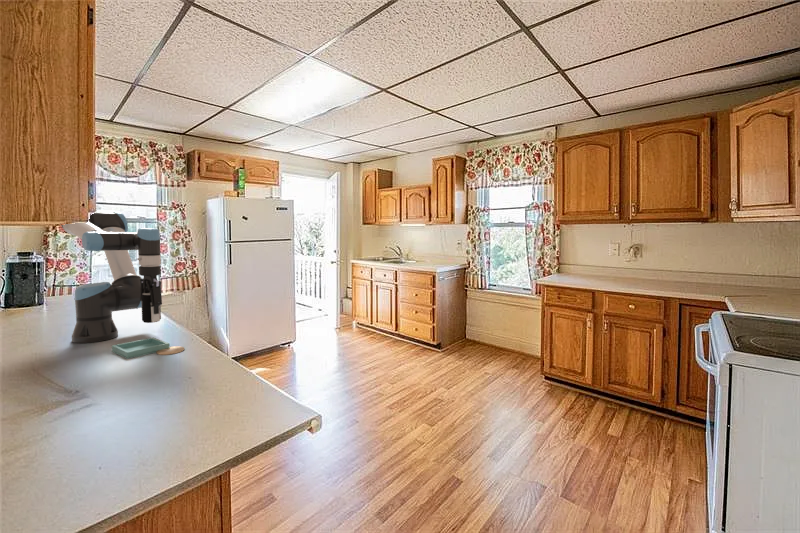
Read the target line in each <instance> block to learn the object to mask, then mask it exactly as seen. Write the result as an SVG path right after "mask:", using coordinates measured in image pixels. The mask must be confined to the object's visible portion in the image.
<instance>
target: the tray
mask: <svg viewBox="0 0 800 533" xmlns="http://www.w3.org/2000/svg"><path fill="white" fill-rule="evenodd" d="M170 347H171V346H170V343H169V342H167V341H165V340H162V339H158V338H155V337H148V338H143V339H139V340H133V341H129V342H123V343H118V344H113V345H111V352H112V353H114V354H116V355H118V356H121V357H122V358H125V359H131V358H137V357H141V356H145V355H149V354H150V355H151V354H153V353H156V351H158V350H162V349H167V348H170Z"/></svg>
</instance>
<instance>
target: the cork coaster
mask: <svg viewBox="0 0 800 533" xmlns="http://www.w3.org/2000/svg"><path fill="white" fill-rule="evenodd" d="M183 350H184V351H185V347H184V346H179V345H178V346H170V348H167V349H162V350H158V351H156V352H155V353H156V354H157V355H160V356H168V355H175V354H179V353H182V352H183Z"/></svg>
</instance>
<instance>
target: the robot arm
mask: <svg viewBox="0 0 800 533" xmlns="http://www.w3.org/2000/svg"><path fill="white" fill-rule="evenodd" d="M96 210H97V209H96ZM60 226H61V228H62V229H63V230H64V232H66V233H67V234H69V235H71V236H76V237H77V238H79V239H81V243H82V244H81V245H82V247H83V249H84V250H86V251H88V252H89V251H91V252H99V251H100V252H103V251H104V254H105V257H106V260H107V263H108V266H109V270H110V272H111V275H112V278H113V281H112V282H111V283H110V281H101V282H93V283H88V284H83V285H80V286H78V287H77V288H75V291H74V305H75V320H76V323H75V324H74V328H73V331H72V334H71V342H72V343H76V344H87V343H89V344H90V343H97V342H102V341H103V342H104V341H108V340H111V339H115V338H117V337H118V336H119V330H118V328H117V326H116V324H115V322H114V319H113V316H112V314H113V313H114V312H118V311H119V312H121V311H127V310H135V309H136V310H138V309H140V308H141V309H142V303H141V297H142V295H143V293H150V296H151V301H152V305H151V306H150V307H151V319H152V322H153V323H157V321H158V322H160V320H161V319H160V317H159V306H160V305H161V306H162V305H163V300H162V299H163V298H162V287H161V286H162V280H158V278H157V277H158V276H160V275H161V274H162V270H161V269H162V266H160V265H161V261H162V259H161V235H160V229H158V228H153V227H152V228H150V227H148V228H146V227H143V228H142V227H140V228H138V229H137V231H132V232H131V231H130V232H129V231H128V230H129V224H128V220H127V217H126V216H125V214H124V213H122V212H120V211H116V210H97V212H96V213H94V214H92V215H91V216H90V219H89V221H88V222H87V223H75V224H65V225H61V224H60ZM129 251H137V253H138V254H137V256H138V257H137V258H136V259H137V261H138V265H139V266H138V275H137V273H136V270H135V267H134V264H133V261H132V258H131V254H130V253H129ZM141 276H143V277H141ZM112 312H113V313H112Z"/></svg>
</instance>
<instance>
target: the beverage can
mask: <svg viewBox="0 0 800 533" xmlns="http://www.w3.org/2000/svg"><path fill="white" fill-rule="evenodd" d="M141 303H142V308H141V320H142V321H141V322H143V323H147V324H150V323H154V322H152V319H151V307H150V306H151V305H152V301H151V296H150V293H143V295H142V297H141ZM161 306H162V305H160V306H159V317H160V320H161V319H162V310H161V309H162V308H161ZM157 322H159V321H157ZM157 322H156V323H157Z"/></svg>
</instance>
